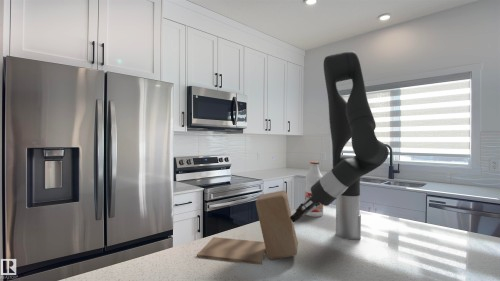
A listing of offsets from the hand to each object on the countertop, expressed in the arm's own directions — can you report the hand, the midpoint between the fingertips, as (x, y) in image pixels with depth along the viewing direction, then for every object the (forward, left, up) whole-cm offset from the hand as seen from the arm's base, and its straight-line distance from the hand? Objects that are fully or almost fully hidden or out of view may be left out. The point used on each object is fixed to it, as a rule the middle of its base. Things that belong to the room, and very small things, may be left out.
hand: (292, 219), depth 87 cm
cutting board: (+20, -1, -13) cm, 24 cm away
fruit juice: (-8, -54, -13) cm, 56 cm away
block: (+3, -1, -12) cm, 12 cm away
